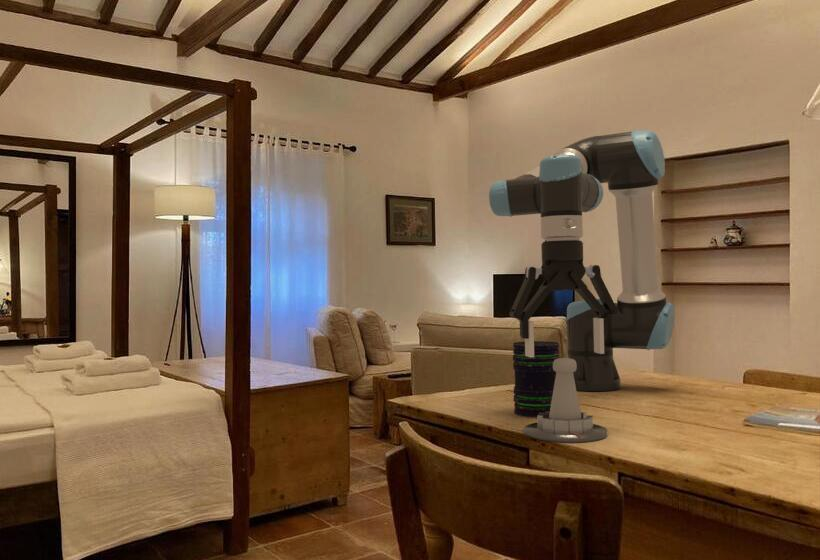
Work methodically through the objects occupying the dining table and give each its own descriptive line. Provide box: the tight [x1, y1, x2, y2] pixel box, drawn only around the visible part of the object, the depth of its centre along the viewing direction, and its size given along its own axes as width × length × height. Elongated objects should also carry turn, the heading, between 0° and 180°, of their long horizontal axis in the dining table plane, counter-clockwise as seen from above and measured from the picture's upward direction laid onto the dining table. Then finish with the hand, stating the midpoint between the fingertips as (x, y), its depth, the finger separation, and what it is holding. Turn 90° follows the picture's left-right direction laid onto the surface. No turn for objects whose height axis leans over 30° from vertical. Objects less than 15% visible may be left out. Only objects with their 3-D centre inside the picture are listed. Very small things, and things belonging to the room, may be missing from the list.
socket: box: [523, 411, 608, 444], centre depth 128 cm, size 15×15×3 cm
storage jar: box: [512, 340, 561, 418], centre depth 148 cm, size 10×10×15 cm
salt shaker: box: [549, 357, 582, 420], centre depth 128 cm, size 6×6×13 cm
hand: (564, 354), depth 128 cm, fingers open, 13 cm apart
